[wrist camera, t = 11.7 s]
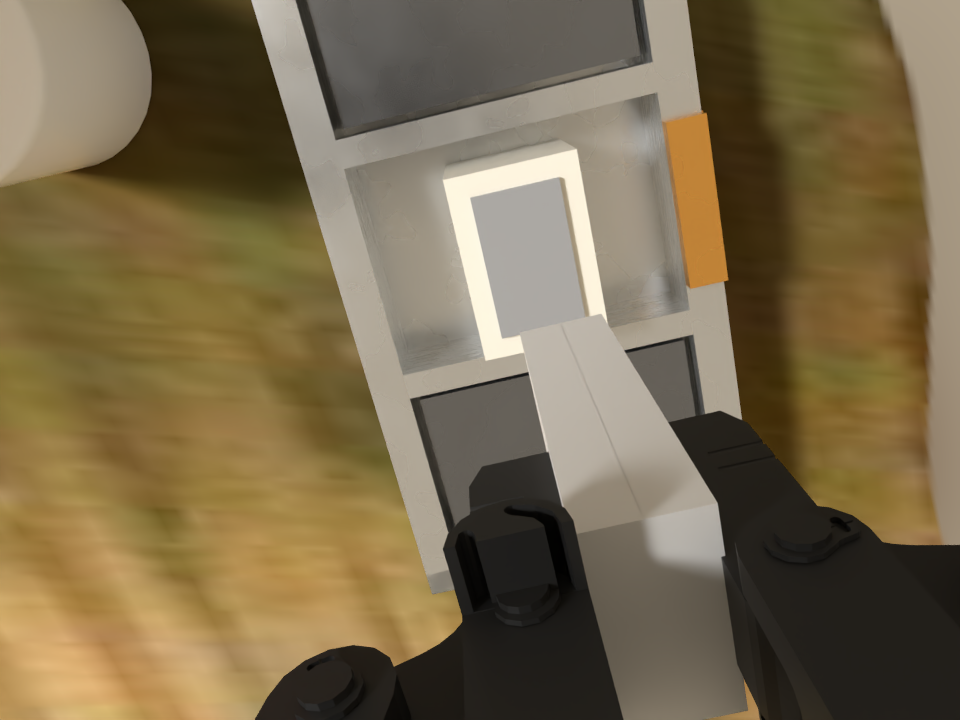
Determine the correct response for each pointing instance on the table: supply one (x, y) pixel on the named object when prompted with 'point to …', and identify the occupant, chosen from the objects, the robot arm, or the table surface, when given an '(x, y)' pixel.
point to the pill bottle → (68, 85)
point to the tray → (429, 227)
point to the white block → (524, 241)
